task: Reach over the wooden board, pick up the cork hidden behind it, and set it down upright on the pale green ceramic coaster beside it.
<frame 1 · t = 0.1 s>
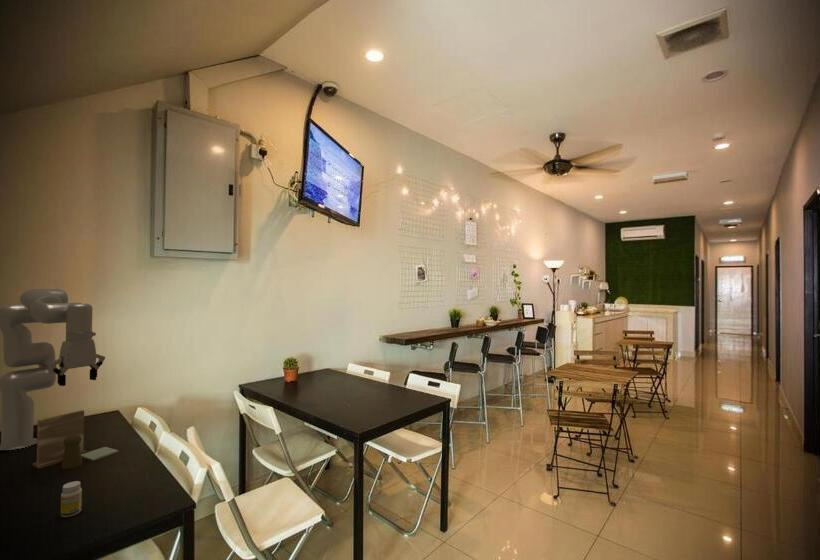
hand: (77, 382, 146), 31 cm above the table, tool pointing down, fingers open, 9 cm apart
supplement bottle: (71, 513, 115), on the table
cork: (71, 466, 146), on the table
wooden board: (60, 459, 151), on the table
coaster: (99, 454, 156), on the table
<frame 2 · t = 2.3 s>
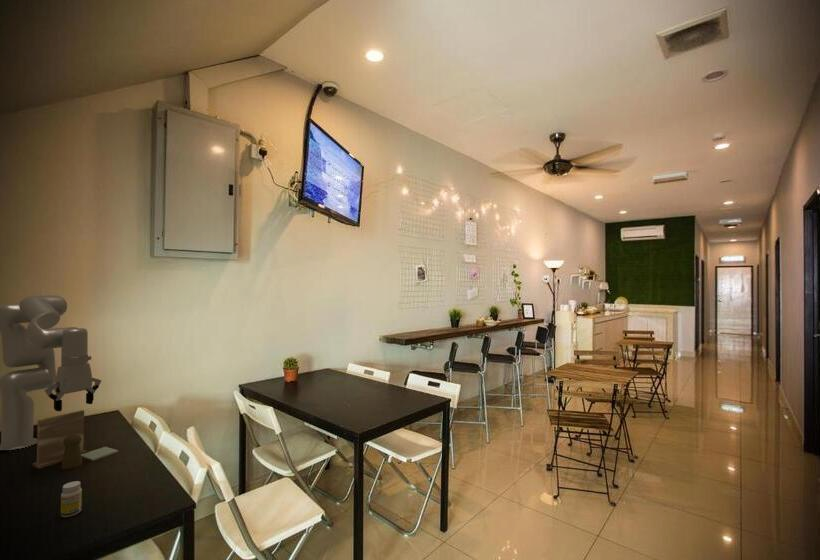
hand: (74, 407, 146), 22 cm above the table, tool pointing down, fingers open, 9 cm apart
nothing on the table moved.
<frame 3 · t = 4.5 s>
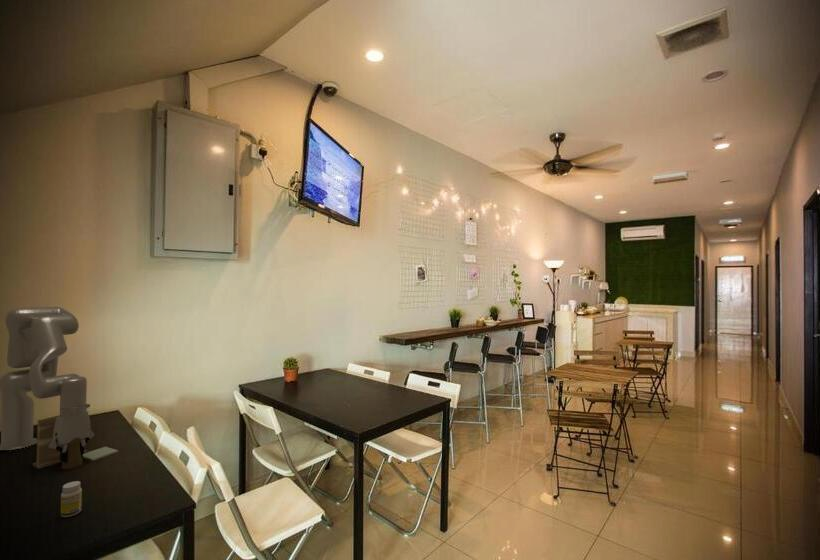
hand: (72, 459, 146), 2 cm above the table, tool pointing down, fingers closed on cork, 4 cm apart
cork: (71, 465, 146), on the table, touching gripper
everything else where it was.
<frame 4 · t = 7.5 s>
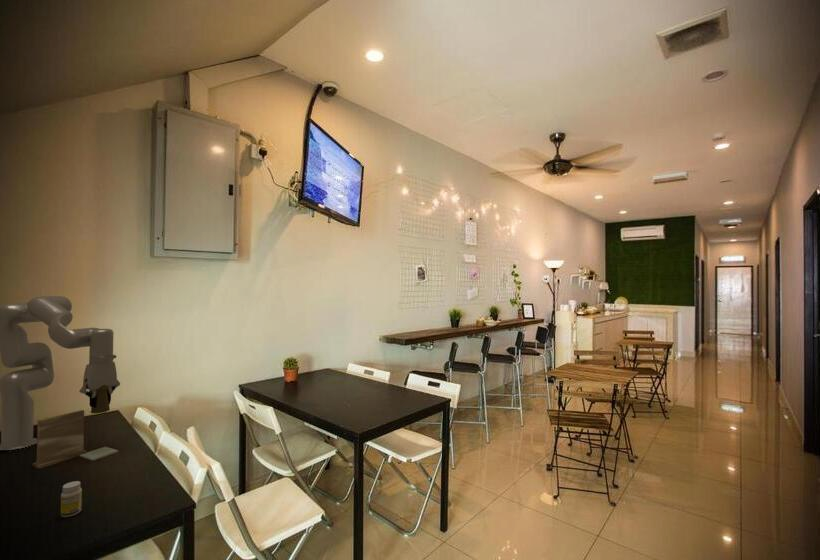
hand: (100, 405, 156), 20 cm above the table, tool pointing down, fingers closed on cork, 4 cm apart
cork: (100, 411, 156), point 17 cm above the table, touching gripper
everything else where it was.
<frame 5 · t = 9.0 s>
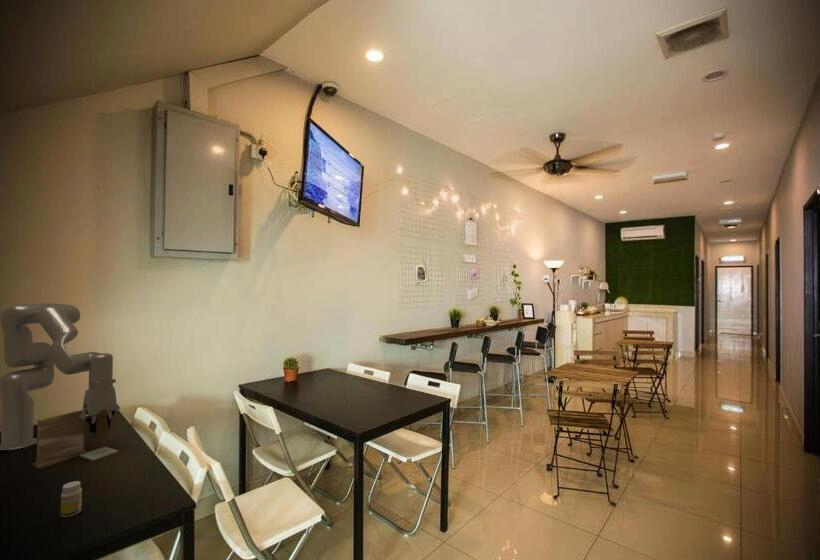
hand: (99, 430, 156), 10 cm above the table, tool pointing down, fingers closed on cork, 4 cm apart
cork: (100, 436, 156), point 7 cm above the table, touching gripper
everything else where it was.
when the fingers open (4 cm above the table, at t = 10.4 s): cork drops 1 cm, resting on coaster.
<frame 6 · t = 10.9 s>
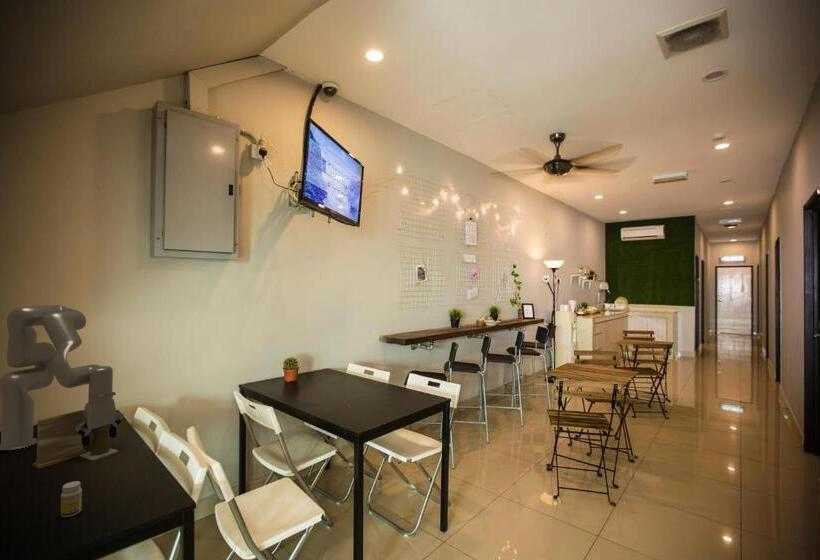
hand: (99, 441, 156), 5 cm above the table, tool pointing down, fingers open, 9 cm apart
cork: (100, 452, 156), resting on coaster
everything else where it was.
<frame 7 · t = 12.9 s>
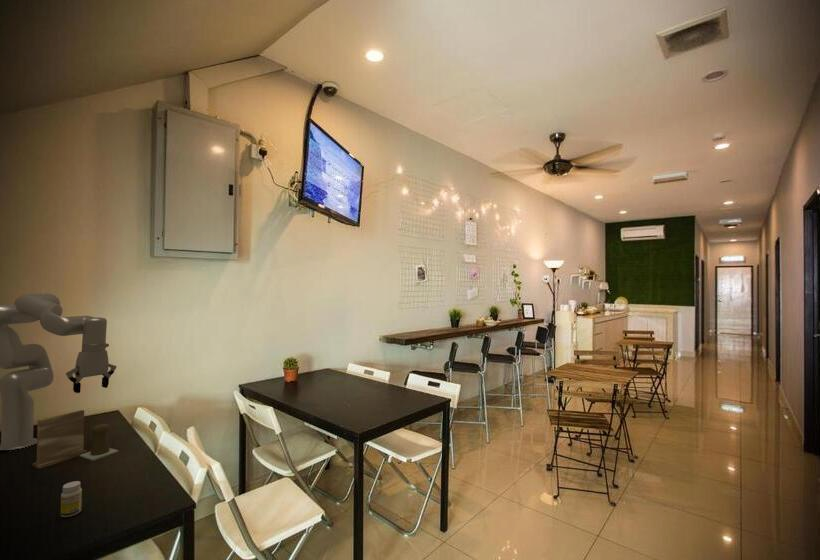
hand: (91, 389, 159), 25 cm above the table, tool pointing down, fingers open, 9 cm apart
nothing on the table moved.
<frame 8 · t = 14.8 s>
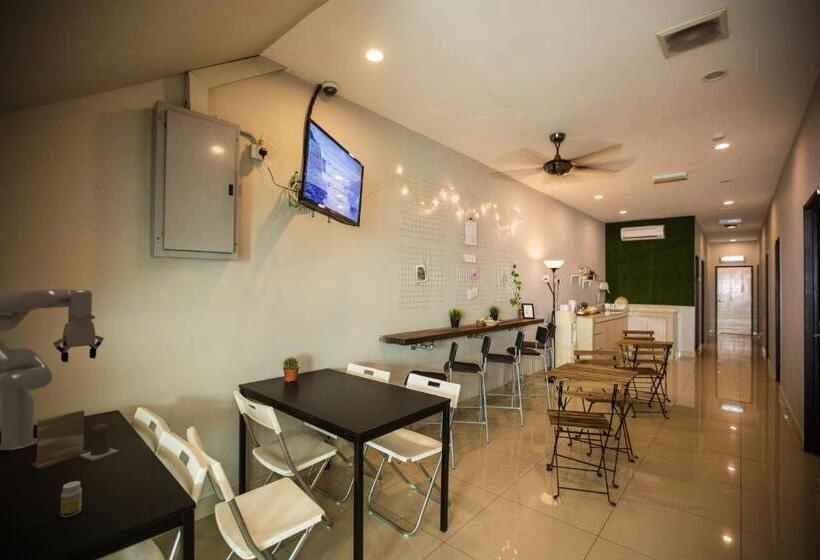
hand: (79, 360, 164), 36 cm above the table, tool pointing down, fingers open, 9 cm apart
nothing on the table moved.
at the end: cork inside the target area on the coaster (0.3 cm from its centre), point 0.4 cm above the coaster's base; cork tilted 0°; the gripper is holding nothing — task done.
